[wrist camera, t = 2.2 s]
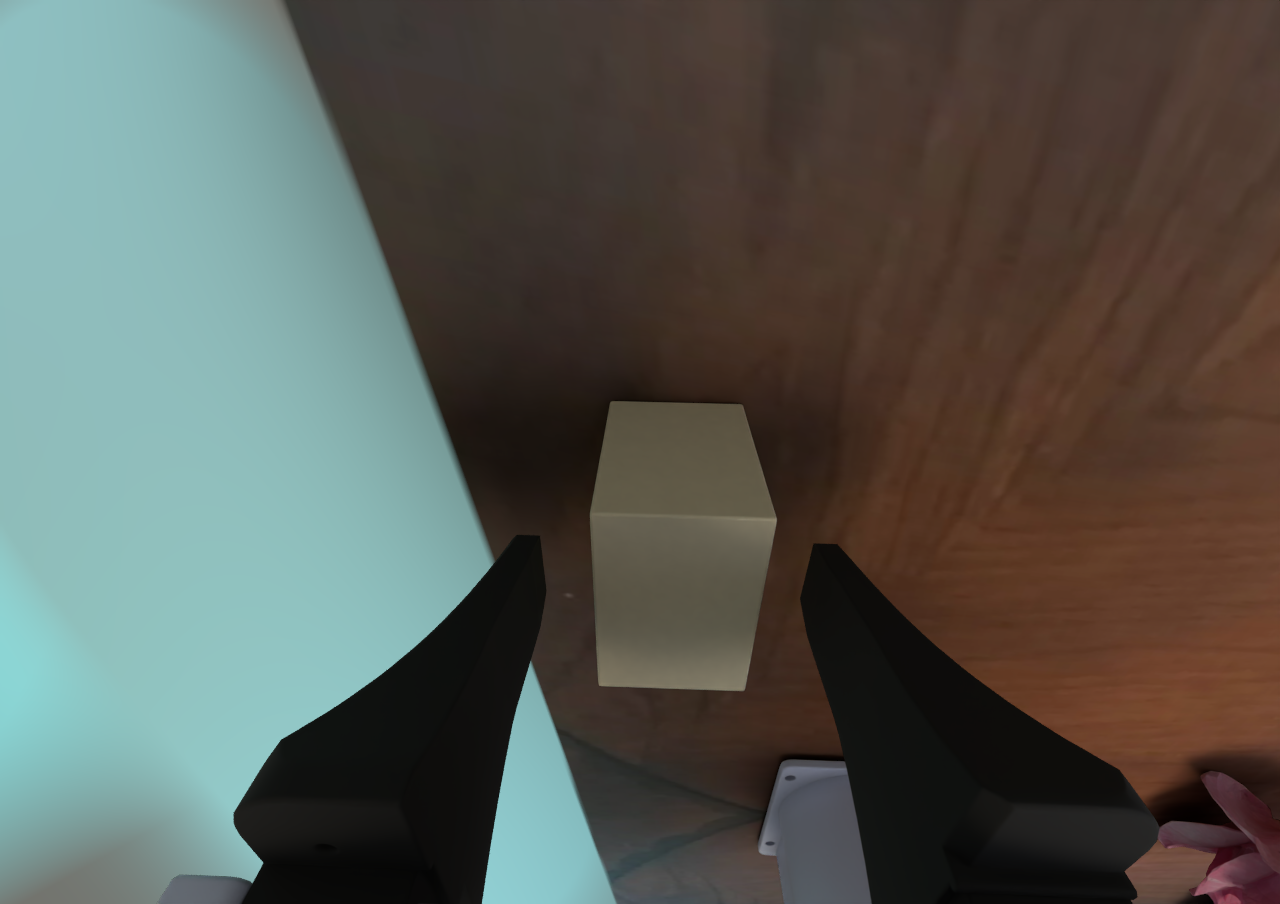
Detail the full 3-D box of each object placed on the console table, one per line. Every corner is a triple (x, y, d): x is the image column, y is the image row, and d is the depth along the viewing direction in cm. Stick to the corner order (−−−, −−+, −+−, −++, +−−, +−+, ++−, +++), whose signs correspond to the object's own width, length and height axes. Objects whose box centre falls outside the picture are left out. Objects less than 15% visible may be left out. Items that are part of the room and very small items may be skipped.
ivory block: (723, 552, 19) (745, 692, 14) (613, 549, 19) (598, 687, 14) (743, 403, 16) (777, 519, 11) (610, 400, 16) (589, 514, 11)
